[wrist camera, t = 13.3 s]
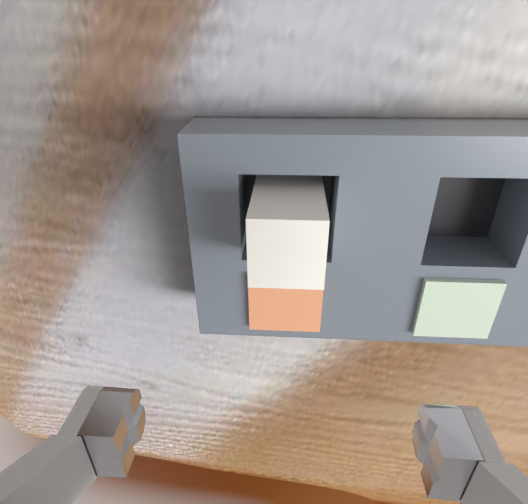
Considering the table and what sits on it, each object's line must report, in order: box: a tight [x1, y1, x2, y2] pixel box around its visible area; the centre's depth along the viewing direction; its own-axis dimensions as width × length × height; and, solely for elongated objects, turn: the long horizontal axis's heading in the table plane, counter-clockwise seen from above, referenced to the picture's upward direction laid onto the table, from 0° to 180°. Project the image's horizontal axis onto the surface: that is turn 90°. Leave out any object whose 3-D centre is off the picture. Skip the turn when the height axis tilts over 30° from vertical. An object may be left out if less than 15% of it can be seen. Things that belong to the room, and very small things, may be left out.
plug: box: [246, 175, 330, 290], centre depth 23 cm, size 4×4×8 cm
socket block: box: [177, 117, 528, 347], centre depth 25 cm, size 14×34×5 cm, turn 90°
